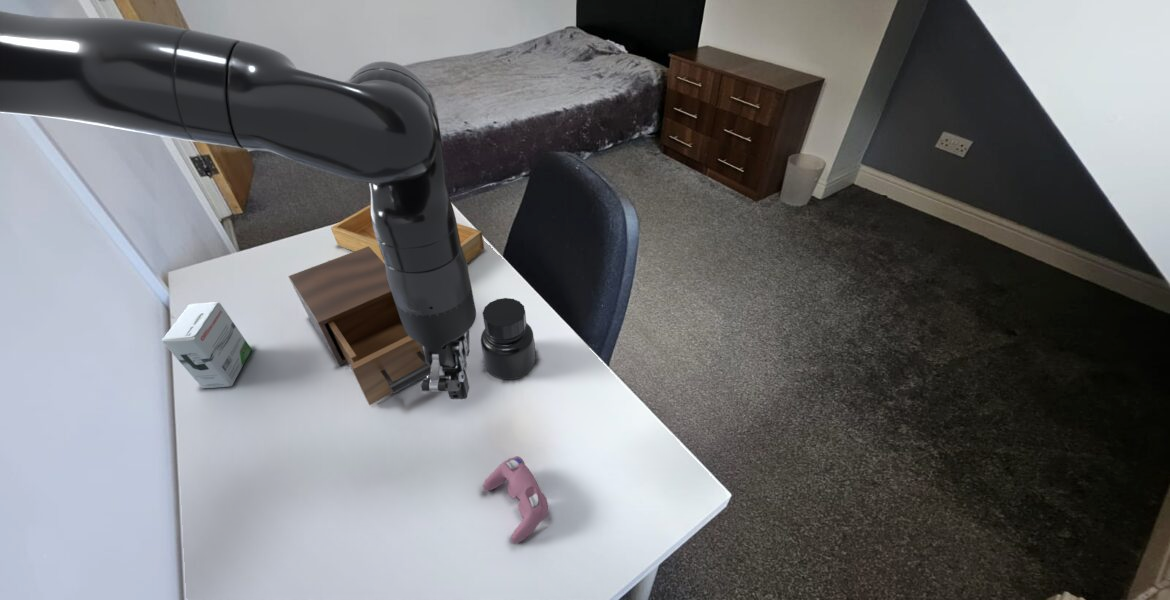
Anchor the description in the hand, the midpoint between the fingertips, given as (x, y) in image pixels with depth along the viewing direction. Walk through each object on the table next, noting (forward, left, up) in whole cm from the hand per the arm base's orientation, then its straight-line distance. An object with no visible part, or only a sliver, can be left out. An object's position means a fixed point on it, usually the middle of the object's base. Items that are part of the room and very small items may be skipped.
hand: (460, 393), depth 58 cm
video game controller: (+1, -9, -16) cm, 19 cm away
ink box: (-23, +43, -16) cm, 51 cm away
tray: (+17, +56, -16) cm, 60 cm away
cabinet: (-1, +39, -16) cm, 42 cm away
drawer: (-1, +24, -15) cm, 28 cm away
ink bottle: (+15, +13, -16) cm, 25 cm away
